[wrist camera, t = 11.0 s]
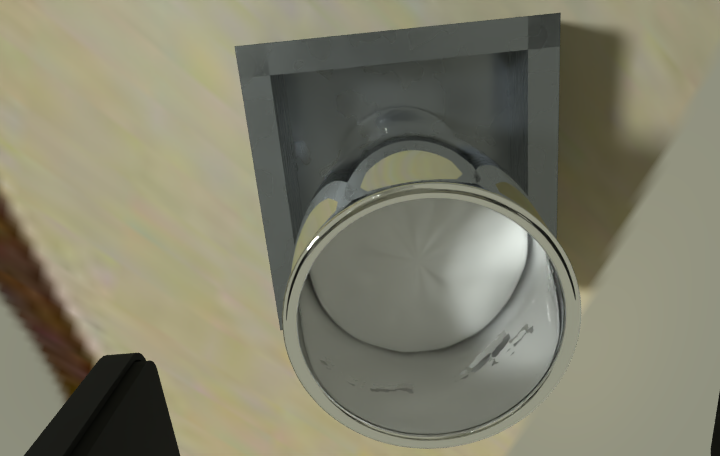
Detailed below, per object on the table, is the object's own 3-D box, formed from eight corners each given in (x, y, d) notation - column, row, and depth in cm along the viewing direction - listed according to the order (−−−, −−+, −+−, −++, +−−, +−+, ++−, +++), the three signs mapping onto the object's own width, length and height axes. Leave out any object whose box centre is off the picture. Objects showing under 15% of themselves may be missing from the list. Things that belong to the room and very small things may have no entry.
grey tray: (255, 45, 25) (234, 46, 21) (531, 16, 25) (560, 12, 21) (292, 292, 29) (280, 330, 25) (531, 273, 28) (555, 309, 25)
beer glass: (502, 139, 26) (659, 265, 12) (429, 263, 28) (485, 498, 14) (368, 69, 25) (359, 111, 11) (303, 202, 27) (223, 385, 13)
